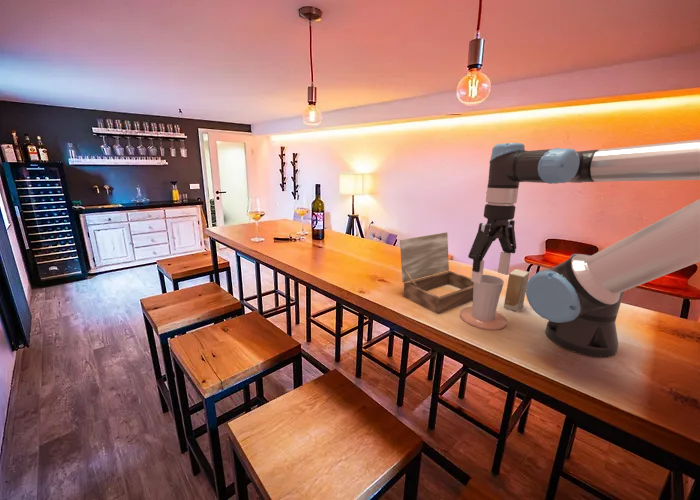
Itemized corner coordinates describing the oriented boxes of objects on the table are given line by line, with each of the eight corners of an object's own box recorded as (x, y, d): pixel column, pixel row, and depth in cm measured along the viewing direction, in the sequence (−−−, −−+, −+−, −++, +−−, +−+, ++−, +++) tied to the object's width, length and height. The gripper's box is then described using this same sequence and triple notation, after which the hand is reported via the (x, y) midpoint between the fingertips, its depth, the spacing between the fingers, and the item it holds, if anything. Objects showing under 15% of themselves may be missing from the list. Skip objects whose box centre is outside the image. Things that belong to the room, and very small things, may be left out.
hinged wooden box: (483, 296, 105) (491, 242, 99) (438, 313, 91) (444, 252, 86) (440, 279, 120) (445, 232, 114) (396, 292, 106) (399, 239, 101)
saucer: (515, 321, 87) (515, 319, 87) (490, 334, 80) (490, 332, 80) (475, 305, 97) (476, 303, 97) (450, 315, 90) (451, 313, 90)
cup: (500, 324, 84) (507, 285, 81) (471, 321, 86) (477, 282, 82) (493, 311, 92) (499, 275, 88) (466, 308, 93) (471, 273, 90)
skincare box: (509, 302, 100) (515, 268, 97) (523, 306, 97) (530, 271, 94) (502, 307, 96) (508, 272, 93) (517, 312, 93) (524, 276, 90)
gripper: (510, 200, 89) (500, 267, 95) (459, 205, 76) (451, 282, 81) (537, 202, 83) (525, 273, 89) (486, 208, 70) (476, 291, 75)
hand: (490, 277), depth 85 cm, fingers open, 13 cm apart
